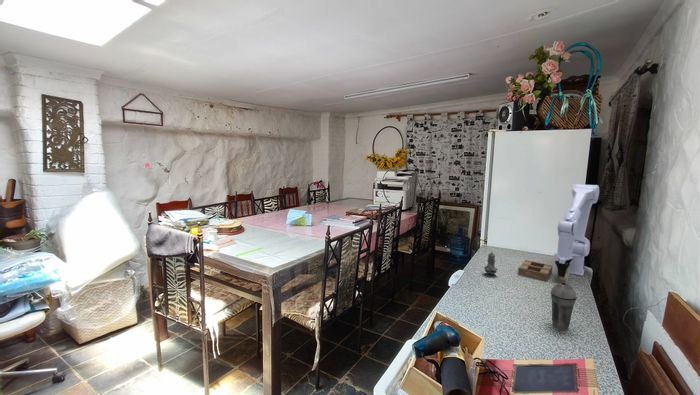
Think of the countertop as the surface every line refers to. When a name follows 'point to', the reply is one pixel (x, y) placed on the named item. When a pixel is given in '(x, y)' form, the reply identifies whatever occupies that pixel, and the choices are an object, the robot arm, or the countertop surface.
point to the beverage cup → (562, 304)
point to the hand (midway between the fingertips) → (562, 274)
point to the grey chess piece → (490, 266)
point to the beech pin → (563, 277)
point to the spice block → (535, 270)
